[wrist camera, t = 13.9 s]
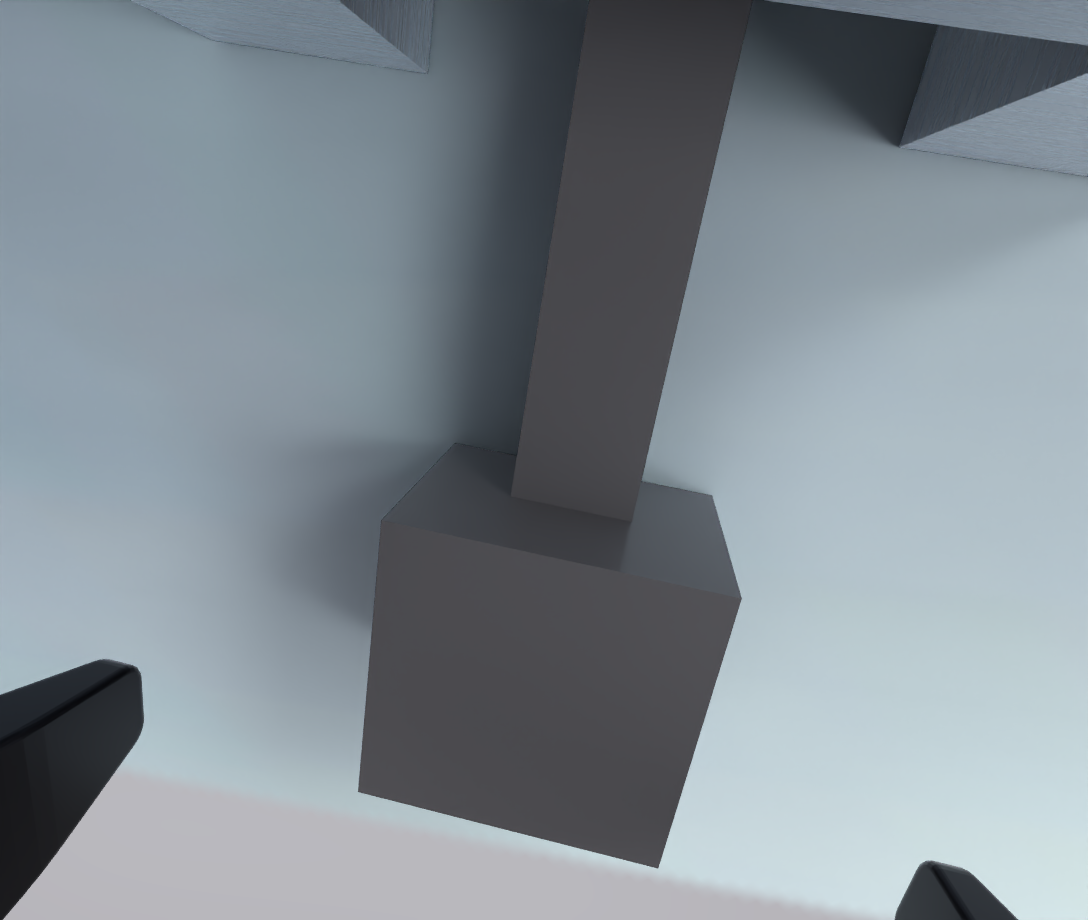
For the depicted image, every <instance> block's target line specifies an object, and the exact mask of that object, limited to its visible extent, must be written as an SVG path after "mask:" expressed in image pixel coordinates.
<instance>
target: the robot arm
mask: <svg viewBox="0 0 1088 920" xmlns="http://www.w3.org/2000/svg"><path fill="white" fill-rule="evenodd" d="M143 723H144V711H143V695H142V679H141V673H140V671H139V670H138V668H137V667H135V666H133V665H130V664H126V663H122V662H118V661H113V660H109V659H102V660H97V661H94V662H91V663H88V664H85V665H83V666H80V667H77V668H74V669H71V670H69V671H66V672H63V673H60V674H57V675H55V676H52V677H49V678H46V679H43V680H41V681H38V682H35V683H32V684H29V685H27V686H24V687H21V688H18V689H15V690H13V691H10V692H7V693H4V694H1V695H0V920H3V919H4V918H5V916H6V915H7V914H8V913H9V912H10V910H11V909H12V908H13V907H14V906H15V905H16V903H17V902H18V901H19V899H21V897H22V896H23V895H24V894H25V893H26V891H27V890H28V889H29V888H30V887H31V885H32V884H33V883H34V882H35V880H36V879H37V878H38V877H39V876H40V874H41V873H42V872H43V870H44V869H45V868H46V867H47V865H48V864H49V863H50V861H51V860H52V859H53V857H54V856H55V855H56V853H57V852H58V851H59V849H60V848H61V847H62V845H63V844H64V842H65V841H66V840H67V838H68V837H69V835H70V834H71V833H72V831H73V830H74V829H75V827H76V826H77V824H78V823H79V821H80V820H81V819H82V817H83V816H84V814H85V813H86V812H87V810H88V809H89V808H90V806H91V805H92V803H93V802H94V801H95V799H96V798H97V796H98V795H99V794H100V792H101V791H102V789H103V788H104V787H105V785H106V784H107V782H108V781H109V780H110V778H111V777H112V776H113V774H114V773H115V771H116V770H117V769H118V767H119V766H120V764H121V763H122V762H123V760H124V759H125V757H126V756H127V755H128V753H129V752H130V750H131V749H132V748H133V746H134V745H135V743H136V742H137V740H138V738H139V736H140V734H141V731H142V728H143ZM895 920H1018V919H1017V918H1016V917H1015V916H1014V915H1013V914H1012V913H1011V912H1010V911H1009V910H1008V909H1007V908H1006V907H1005V906H1004V905H1003V904H1002V903H1001V902H1000V901H999V900H998V899H997V898H996V897H995V896H994V895H993V894H992V893H991V892H990V891H989V890H988V889H987V888H986V887H985V886H984V885H983V884H982V883H981V882H980V881H979V880H978V879H977V878H976V877H975V876H974V875H972V874H971V873H970V872H968V871H967V870H965V869H963V868H960V867H956V866H952V865H948V864H944V863H939V862H935V861H925V862H923V863H922V864H920V865H919V867H918V869H917V870H916V872H915V874H914V876H913V878H912V880H911V882H910V884H909V887H908V889H907V891H906V893H905V895H904V897H903V899H902V901H901V903H900V905H899V907H898V909H897V912H896V916H895Z"/></svg>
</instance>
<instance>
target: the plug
mask: <svg viewBox="0 0 1088 920" xmlns="http://www.w3.org/2000/svg"><path fill="white" fill-rule="evenodd" d="M752 1H753V0H589V5H588V11H587V18H586V24H585V30H584V36H583V43H582V49H581V55H580V62H579V68H578V74H577V81H576V87H575V93H574V99H573V106H572V112H571V118H570V125H569V131H568V137H567V144H566V150H565V156H564V162H563V169H562V175H561V181H560V188H559V194H558V200H557V207H556V213H555V219H554V226H553V232H552V238H551V244H550V251H549V257H548V263H547V270H546V276H545V282H544V289H543V295H542V301H541V307H540V314H539V320H538V326H537V333H536V339H535V345H534V352H533V358H532V364H531V370H530V377H529V383H528V389H527V396H526V402H525V408H524V415H523V421H522V427H521V433H520V440H519V446H518V452H517V456H516V455H511V454H506V453H501V452H496V451H491V450H486V449H482V448H477V447H472V446H467V445H462V444H457V443H455V444H454V445H453V446H452V447H451V448H450V449H449V450H448V451H447V452H446V453H445V454H444V455H443V456H442V457H441V459H440V460H439V461H438V462H437V463H436V464H435V465H434V466H433V467H432V468H431V469H430V470H429V471H428V472H427V473H426V474H425V475H424V476H423V477H422V478H421V479H420V480H419V482H418V483H417V484H416V485H415V486H414V487H413V488H412V489H411V490H410V491H409V492H408V493H407V494H406V495H405V496H404V497H403V498H402V499H401V500H400V501H399V502H398V503H397V504H396V506H395V507H394V508H393V509H392V510H391V511H390V512H389V513H388V514H387V515H386V516H385V517H384V518H383V519H382V520H381V531H380V543H379V555H378V566H377V578H376V589H375V601H374V613H373V624H372V636H371V648H370V659H369V671H368V683H367V694H366V706H365V718H364V729H363V741H362V753H361V764H360V776H359V788H358V792H361V793H364V794H368V795H372V796H376V797H380V798H384V799H388V800H392V801H396V802H400V803H404V804H408V805H412V806H415V807H419V808H423V809H427V810H431V811H435V812H439V813H443V814H447V815H451V816H455V817H459V818H462V819H466V820H470V821H474V822H478V823H482V824H486V825H490V826H494V827H498V828H502V829H506V830H510V831H513V832H517V833H521V834H525V835H529V836H533V837H537V838H541V839H545V840H549V841H553V842H557V843H560V844H564V845H568V846H572V847H576V848H580V849H584V850H588V851H592V852H596V853H600V854H604V855H607V856H611V857H615V858H619V859H623V860H627V861H631V862H635V863H639V864H643V865H647V866H651V867H655V868H658V867H659V864H660V861H661V857H662V854H663V851H664V848H665V845H666V841H667V838H668V835H669V832H670V828H671V825H672V822H673V819H674V815H675V812H676V809H677V806H678V803H679V799H680V796H681V793H682V790H683V786H684V783H685V780H686V777H687V773H688V770H689V767H690V764H691V761H692V757H693V754H694V751H695V748H696V744H697V741H698V738H699V735H700V731H701V728H702V725H703V722H704V719H705V715H706V712H707V709H708V706H709V702H710V699H711V696H712V693H713V689H714V686H715V683H716V680H717V677H718V673H719V670H720V667H721V664H722V660H723V657H724V654H725V651H726V647H727V644H728V641H729V638H730V635H731V631H732V628H733V625H734V622H735V618H736V615H737V612H738V609H739V605H740V602H741V599H742V598H741V595H740V591H739V588H738V584H737V581H736V577H735V574H734V570H733V567H732V563H731V560H730V556H729V553H728V549H727V546H726V542H725V539H724V535H723V532H722V528H721V525H720V521H719V518H718V514H717V511H716V507H715V504H714V500H713V497H712V496H711V495H706V494H701V493H696V492H692V491H687V490H682V489H677V488H672V487H667V486H662V485H657V484H653V483H648V482H643V481H641V480H642V475H643V471H644V467H645V463H646V458H647V454H648V450H649V445H650V441H651V437H652V432H653V428H654V424H655V419H656V415H657V411H658V406H659V402H660V398H661V393H662V389H663V385H664V381H665V376H666V372H667V368H668V363H669V359H670V355H671V350H672V346H673V342H674V337H675V333H676V329H677V324H678V320H679V316H680V311H681V307H682V303H683V298H684V294H685V290H686V286H687V281H688V277H689V273H690V268H691V264H692V260H693V255H694V251H695V247H696V242H697V238H698V234H699V229H700V225H701V221H702V216H703V212H704V208H705V204H706V199H707V195H708V191H709V186H710V182H711V178H712V173H713V169H714V165H715V160H716V156H717V152H718V147H719V143H720V139H721V134H722V130H723V126H724V122H725V117H726V113H727V109H728V104H729V100H730V96H731V91H732V87H733V83H734V78H735V74H736V70H737V65H738V61H739V57H740V52H741V48H742V44H743V40H744V35H745V31H746V27H747V22H748V18H749V14H750V9H751V5H752Z"/></svg>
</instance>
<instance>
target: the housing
mask: <svg viewBox="0 0 1088 920" xmlns="http://www.w3.org/2000/svg"><path fill="white" fill-rule="evenodd" d="M131 1H133V2H135V3H137V4H139V5H141V6H143V7H145V8H147V9H149V10H151V11H153V12H156V13H158V14H160V15H162V16H164V17H166V18H168V19H170V20H172V21H174V22H176V23H178V24H180V25H182V26H184V27H186V28H188V29H190V30H192V31H195V32H197V33H199V34H201V35H203V36H205V37H207V38H209V39H211V40H214V41H220V42H227V43H233V44H240V45H246V46H253V47H259V48H265V49H272V50H278V51H285V52H291V53H297V54H304V55H310V56H317V57H323V58H330V59H336V60H342V61H349V62H355V63H362V64H368V65H375V66H381V67H387V68H394V69H400V70H407V71H413V72H419V73H426V74H428V66H429V55H430V43H431V32H432V21H433V10H434V0H131ZM766 1H773V2H780V3H787V4H795V5H802V6H809V7H816V8H823V9H830V10H838V11H845V12H852V13H859V14H866V15H873V16H881V17H888V18H895V19H902V20H909V21H916V22H924V23H931V24H938V27H937V30H936V33H935V36H934V39H933V43H932V46H931V49H930V52H929V55H928V58H927V61H926V65H925V68H924V71H923V74H922V77H921V80H920V83H919V87H918V90H917V93H916V96H915V99H914V102H913V105H912V109H911V112H910V115H909V118H908V121H907V124H906V127H905V131H904V134H903V137H902V140H901V143H900V146H899V147H901V148H908V149H914V150H920V151H927V152H933V153H940V154H946V155H952V156H959V157H965V158H972V159H978V160H985V161H991V162H997V163H1004V164H1010V165H1017V166H1023V167H1030V168H1036V169H1042V170H1049V171H1055V172H1062V173H1068V174H1074V175H1081V176H1087V177H1088V0H766Z"/></svg>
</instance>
